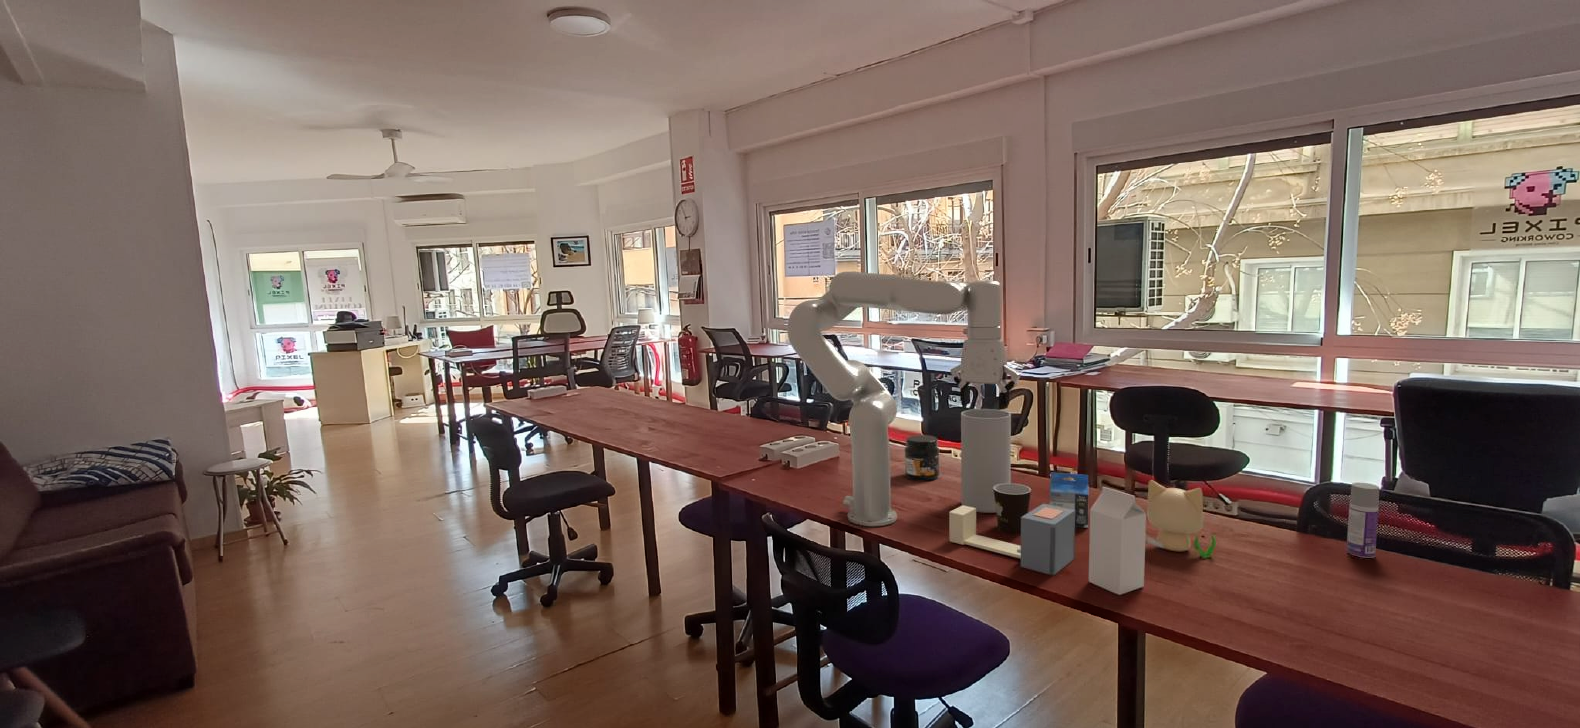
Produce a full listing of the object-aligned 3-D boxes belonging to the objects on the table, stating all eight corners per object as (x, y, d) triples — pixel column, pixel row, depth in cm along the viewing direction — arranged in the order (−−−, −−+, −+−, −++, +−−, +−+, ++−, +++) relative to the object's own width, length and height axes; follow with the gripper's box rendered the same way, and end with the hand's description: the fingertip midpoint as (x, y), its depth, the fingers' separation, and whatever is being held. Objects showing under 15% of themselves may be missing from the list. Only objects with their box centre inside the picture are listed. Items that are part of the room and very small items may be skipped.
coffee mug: (1033, 536, 163) (1033, 494, 162) (994, 534, 165) (994, 493, 164) (1026, 519, 175) (1026, 480, 173) (990, 517, 176) (990, 479, 175)
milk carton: (1119, 596, 132) (1122, 499, 130) (1088, 582, 139) (1090, 489, 136) (1144, 587, 136) (1147, 493, 133) (1112, 574, 142) (1114, 483, 139)
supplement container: (904, 481, 209) (904, 442, 208) (904, 471, 220) (904, 434, 218) (940, 482, 208) (940, 442, 206) (938, 472, 218) (938, 434, 216)
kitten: (1220, 550, 152) (1223, 483, 150) (1209, 565, 144) (1212, 495, 142) (1146, 535, 162) (1148, 472, 160) (1132, 548, 154) (1134, 482, 153)
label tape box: (1049, 525, 170) (1049, 476, 168) (1049, 519, 174) (1050, 471, 172) (1088, 529, 167) (1089, 479, 165) (1087, 523, 170) (1089, 474, 169)
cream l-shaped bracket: (949, 541, 161) (949, 512, 160) (962, 533, 165) (962, 505, 165) (1020, 560, 149) (1020, 528, 148) (1032, 551, 154) (1033, 521, 153)
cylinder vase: (1015, 502, 187) (1016, 411, 184) (1002, 517, 177) (1003, 420, 173) (970, 496, 194) (969, 407, 191) (954, 509, 183) (954, 416, 180)
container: (1370, 552, 148) (1375, 483, 146) (1378, 560, 144) (1383, 490, 142) (1343, 549, 150) (1348, 481, 148) (1350, 557, 146) (1354, 487, 144)
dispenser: (1015, 565, 148) (1015, 515, 146) (1037, 549, 156) (1038, 501, 154) (1053, 575, 142) (1054, 523, 141) (1074, 558, 150) (1075, 509, 149)
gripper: (943, 334, 165) (943, 405, 168) (1012, 336, 154) (1011, 413, 156) (959, 331, 171) (959, 400, 173) (1027, 334, 159) (1026, 407, 161)
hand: (984, 406), depth 164 cm, fingers open, 9 cm apart
